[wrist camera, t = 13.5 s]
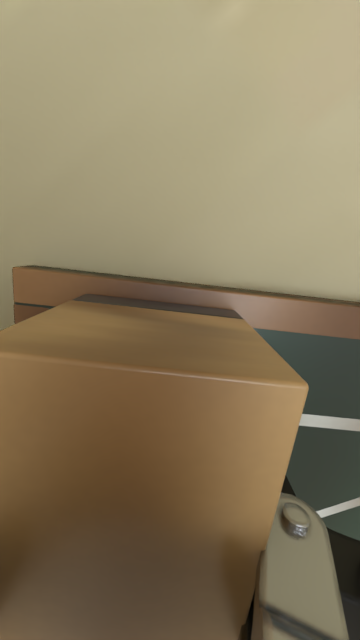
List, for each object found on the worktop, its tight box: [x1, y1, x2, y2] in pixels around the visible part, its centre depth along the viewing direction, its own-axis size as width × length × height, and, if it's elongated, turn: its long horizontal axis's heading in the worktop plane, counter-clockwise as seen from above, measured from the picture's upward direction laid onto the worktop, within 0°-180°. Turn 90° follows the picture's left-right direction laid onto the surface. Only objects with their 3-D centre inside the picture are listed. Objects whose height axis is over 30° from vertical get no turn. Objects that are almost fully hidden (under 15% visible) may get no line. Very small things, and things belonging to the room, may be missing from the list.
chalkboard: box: [12, 266, 360, 541], centre depth 11 cm, size 22×16×1 cm
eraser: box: [0, 294, 309, 640], centre depth 7 cm, size 5×9×5 cm, turn 173°
